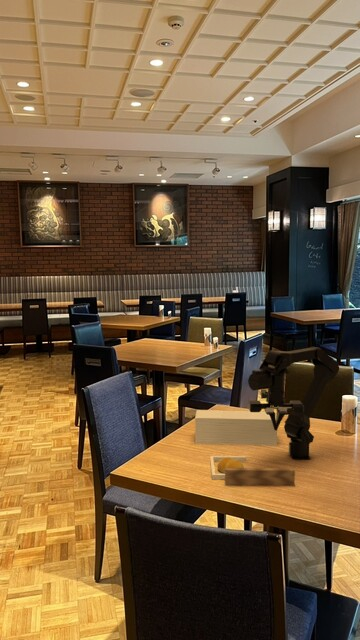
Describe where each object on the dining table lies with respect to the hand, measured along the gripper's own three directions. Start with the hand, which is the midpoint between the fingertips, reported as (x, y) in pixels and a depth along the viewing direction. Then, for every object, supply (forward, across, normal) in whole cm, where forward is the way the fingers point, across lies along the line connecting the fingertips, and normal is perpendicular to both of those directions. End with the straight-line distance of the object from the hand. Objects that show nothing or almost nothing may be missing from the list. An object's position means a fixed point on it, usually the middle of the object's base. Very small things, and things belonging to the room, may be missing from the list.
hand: (275, 430), depth 170 cm
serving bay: (+12, +16, +6) cm, 21 cm away
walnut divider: (+12, +8, +18) cm, 23 cm away
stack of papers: (+12, +12, -23) cm, 29 cm away
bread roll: (+12, +16, +7) cm, 22 cm away
